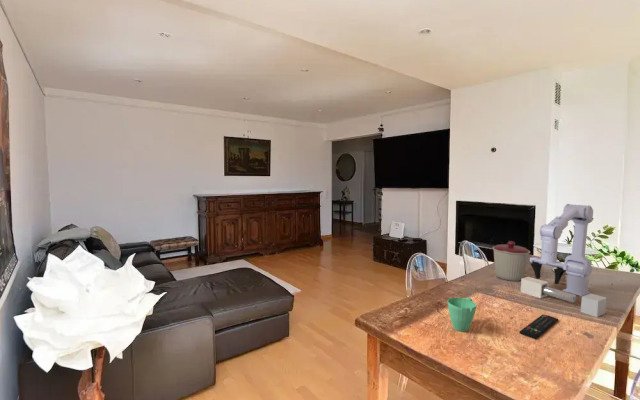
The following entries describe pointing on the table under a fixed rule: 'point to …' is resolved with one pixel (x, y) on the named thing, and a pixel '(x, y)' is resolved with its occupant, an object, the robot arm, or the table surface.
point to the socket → (593, 305)
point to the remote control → (538, 326)
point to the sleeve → (533, 286)
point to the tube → (559, 294)
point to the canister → (510, 261)
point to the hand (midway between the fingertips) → (547, 281)
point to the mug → (461, 313)
